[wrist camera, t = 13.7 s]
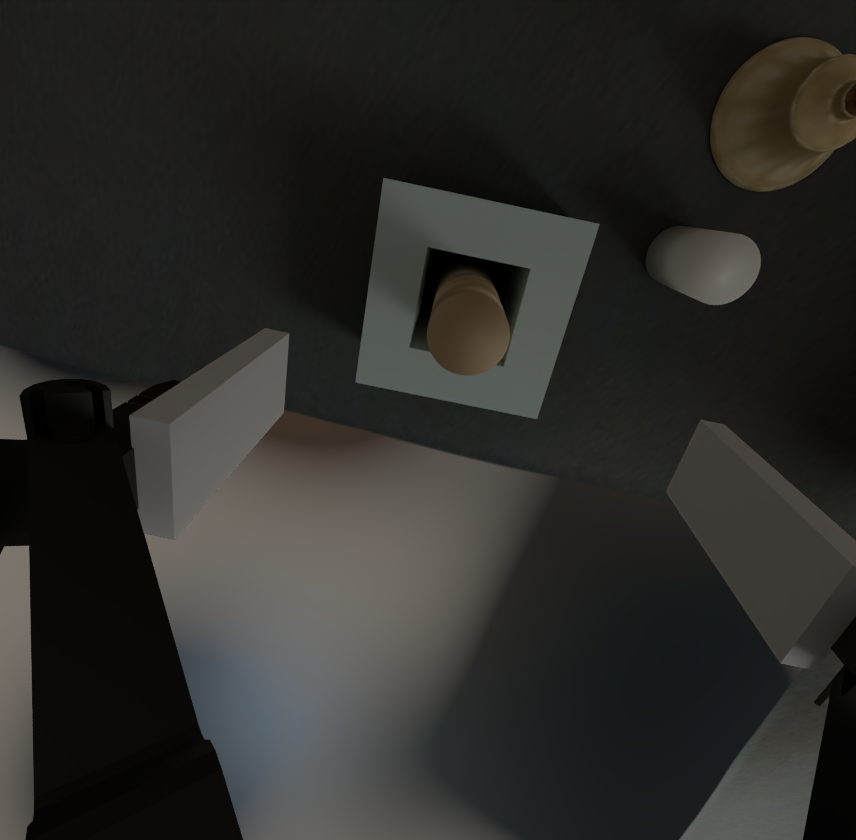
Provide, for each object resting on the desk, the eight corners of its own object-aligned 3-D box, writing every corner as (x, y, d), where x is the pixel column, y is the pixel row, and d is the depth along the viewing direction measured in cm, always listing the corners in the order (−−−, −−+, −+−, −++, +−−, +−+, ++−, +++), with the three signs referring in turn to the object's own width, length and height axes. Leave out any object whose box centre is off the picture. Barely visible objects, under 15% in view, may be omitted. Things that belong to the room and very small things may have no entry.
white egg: (714, 232, 34) (773, 241, 27) (690, 290, 35) (740, 311, 29) (658, 220, 33) (705, 226, 27) (636, 278, 35) (675, 297, 29)
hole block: (569, 217, 34) (599, 224, 26) (522, 377, 39) (536, 419, 32) (399, 181, 33) (383, 177, 26) (375, 346, 38) (355, 382, 31)
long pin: (498, 265, 35) (520, 305, 23) (484, 318, 37) (497, 383, 24) (445, 252, 35) (436, 285, 22) (433, 306, 37) (419, 365, 24)
